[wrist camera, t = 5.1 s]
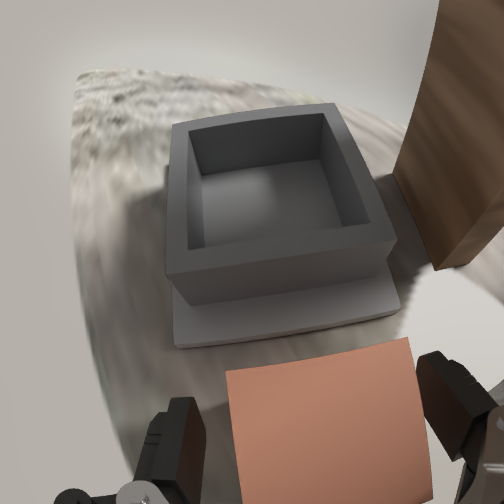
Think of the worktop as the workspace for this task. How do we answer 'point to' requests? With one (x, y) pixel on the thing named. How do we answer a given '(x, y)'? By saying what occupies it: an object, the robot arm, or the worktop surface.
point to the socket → (273, 227)
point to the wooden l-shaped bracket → (458, 135)
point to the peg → (332, 429)
